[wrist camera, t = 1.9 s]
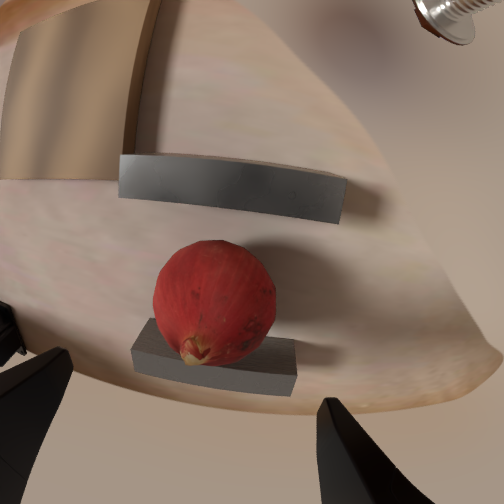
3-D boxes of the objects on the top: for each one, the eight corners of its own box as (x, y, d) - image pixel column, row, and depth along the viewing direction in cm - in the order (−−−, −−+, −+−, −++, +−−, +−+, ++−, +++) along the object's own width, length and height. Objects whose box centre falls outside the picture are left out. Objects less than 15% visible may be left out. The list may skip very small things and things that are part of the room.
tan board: (11, 176, 15) (-1, 179, 13) (31, 35, 10) (20, 32, 9) (132, 177, 15) (120, 180, 13) (162, -3, 10) (154, -13, 9)
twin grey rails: (151, 339, 19) (134, 371, 16) (149, 152, 14) (120, 154, 11) (287, 360, 19) (290, 396, 16) (329, 172, 14) (347, 179, 11)
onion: (289, 245, 16) (309, 330, 8) (253, 322, 18) (245, 424, 10) (193, 208, 15) (130, 264, 8) (168, 291, 17) (116, 379, 10)
